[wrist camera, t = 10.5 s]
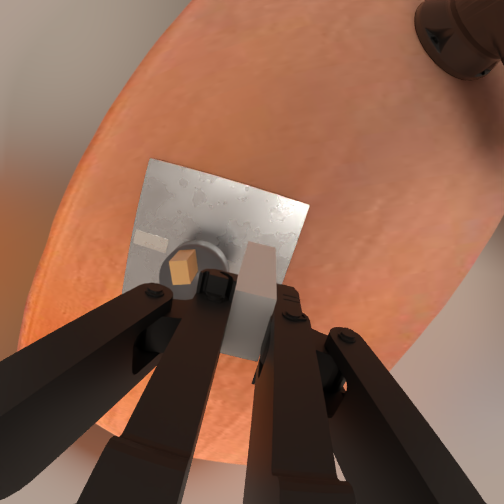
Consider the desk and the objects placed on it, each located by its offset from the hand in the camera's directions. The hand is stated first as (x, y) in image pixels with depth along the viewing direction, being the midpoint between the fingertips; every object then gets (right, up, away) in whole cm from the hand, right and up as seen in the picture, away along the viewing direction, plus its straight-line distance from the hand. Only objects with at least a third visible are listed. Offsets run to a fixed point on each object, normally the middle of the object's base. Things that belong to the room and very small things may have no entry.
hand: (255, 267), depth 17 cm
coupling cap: (-6, -4, +22) cm, 23 cm away
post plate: (-6, 0, +27) cm, 28 cm away
